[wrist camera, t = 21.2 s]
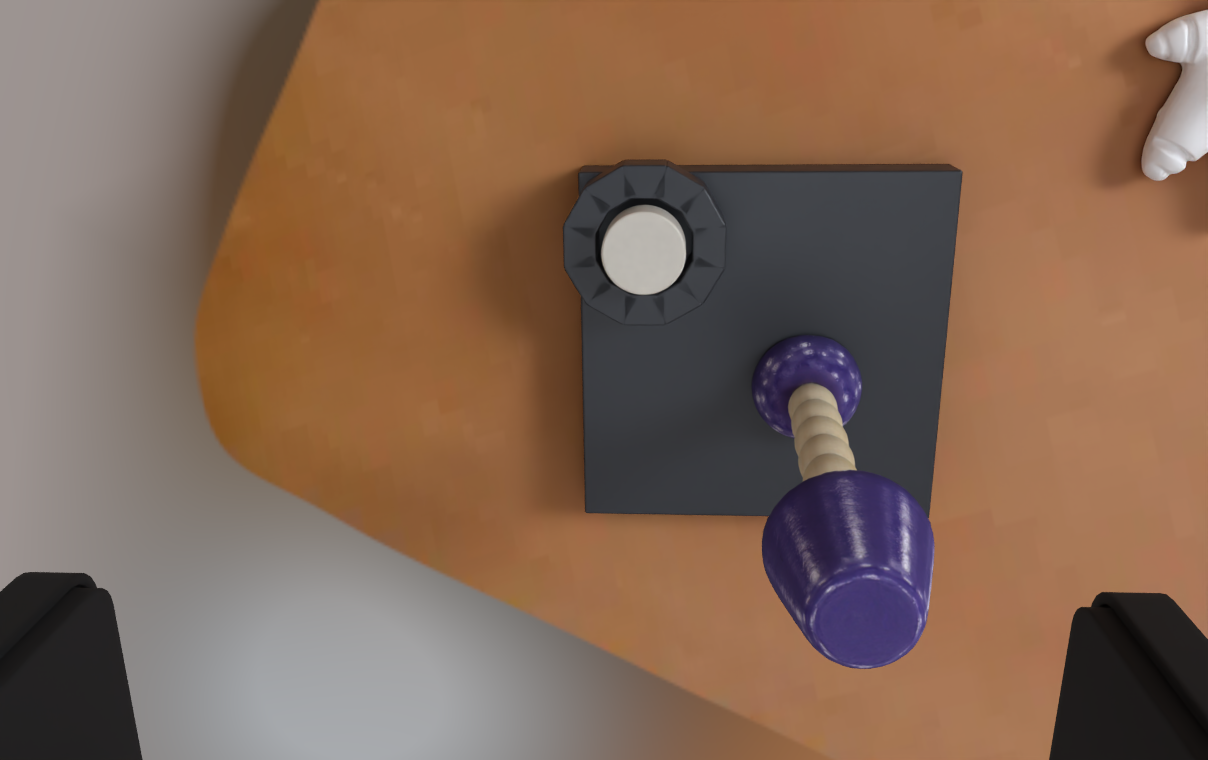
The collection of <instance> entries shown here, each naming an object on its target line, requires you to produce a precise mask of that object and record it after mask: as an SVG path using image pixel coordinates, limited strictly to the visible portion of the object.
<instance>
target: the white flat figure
mask: <svg viewBox="0 0 1208 760" xmlns="http://www.w3.org/2000/svg"><path fill="white" fill-rule="evenodd" d="M1145 44H1146V48H1147V50H1148V52H1149V54H1150V55H1152V56H1154V57H1156V58H1159V59H1163V60H1167V61H1172V62H1179V63H1180V64H1181V66H1182V74H1181V76H1180V78H1179V80H1178V82H1177V84H1176V85H1175V87H1174V89H1173V90H1172V92H1171V94H1170V96H1169V97H1168V99H1167V101H1166V102H1165V104H1164V106H1163V107H1162V108H1161V109H1160V110H1159V111H1158V113H1157V116H1156V120H1155V122H1154V124H1153V126H1152V128H1151V131H1150V133H1149V135H1148V137H1147V139H1146V142H1145V145H1144V148H1143V153H1142V160H1141V163H1142V170H1143V173H1144V174H1145V175H1146V176H1147V177H1149V178H1150V179H1152V180H1155V181H1161V180H1164V179H1165V178H1167V177H1168V176H1169V175H1170V174H1176V173H1179V172H1181V171H1182V170H1184V169H1185V167H1186V162H1187V161H1196V160H1198V159H1199V158H1200V157H1202V156H1203V155H1204V154H1206V153H1207V152H1208V10H1204V11H1200V12H1196V13H1192V14H1188V15H1184V16H1182V17H1179V18H1176V19H1174V20H1172V21H1170V22H1168V23H1167V24H1165V25H1164V26H1162V27H1161V28H1160V29H1159V30H1157V31H1156V32H1154V33H1152V34H1151V35H1150V36H1148V37H1147V39H1146V42H1145Z"/></svg>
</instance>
